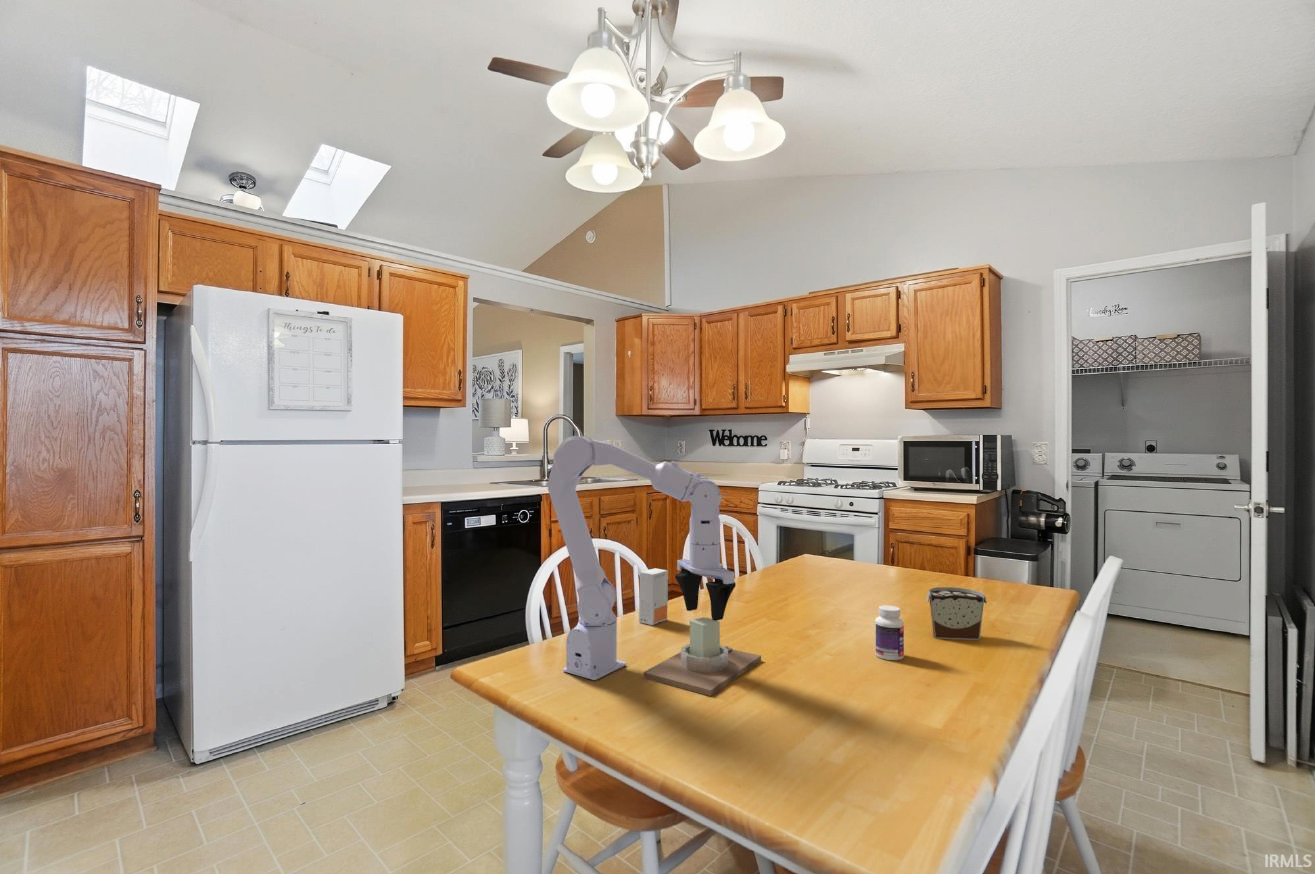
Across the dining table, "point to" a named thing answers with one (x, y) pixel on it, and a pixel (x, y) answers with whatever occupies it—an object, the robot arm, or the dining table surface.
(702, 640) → the sage peg
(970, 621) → the food container
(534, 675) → the dining table surface
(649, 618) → the skincare box
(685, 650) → the cup bracket
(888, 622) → the pill bottle
